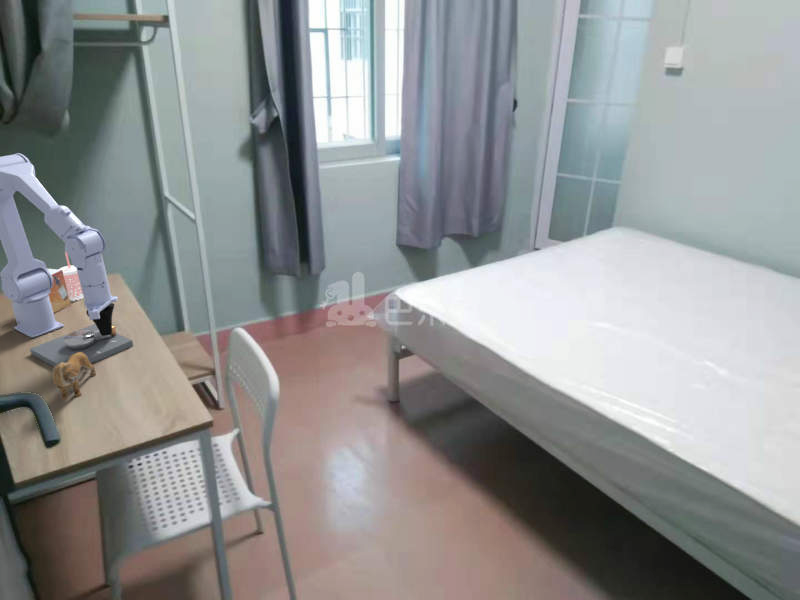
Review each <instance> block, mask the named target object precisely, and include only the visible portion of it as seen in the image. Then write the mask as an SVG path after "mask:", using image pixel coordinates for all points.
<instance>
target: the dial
mask: <svg viewBox="0 0 800 600" xmlns="http://www.w3.org/2000/svg"><path fill="white" fill-rule="evenodd" d="M78 330H79V331H78ZM78 330H75V331H73V332H70V333H68V335H67V334H66V335H67V336H65V335H64V336H65V338H64V340H65V344H66V347H67V348H68V349H71V350H79V349H84V348H87V347H90V346H92V345H93V344H95V343H96V340H100V339H104V338H107V337H111V336H115V335H116V334H118V333H117V329H116V326H115V325H114V324H112V334H111V335H105V336H102V335H101V333H100V331H99V329H98V330H95V331H92V330H80V329H78Z"/></svg>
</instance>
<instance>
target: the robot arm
mask: <svg viewBox="0 0 800 600" xmlns="http://www.w3.org/2000/svg"><path fill="white" fill-rule="evenodd" d="M16 192H19V193H20V194H21V195H22V196H24V197H25V199H27V200H28V201H29V202H30V203H31V204H33V205H34V206H35V207H36V208H37V209H38V210H39V211H41V213H42V214H44V218H43V220H44V222H45V224H46V225H47V226H48V227H49V228H50V229H51V230H52V231H53V232H54V233H55V234H56V235H57V236H58V238H59V239H60V240H61V241H62V242H63V243H64V245H65V246H64V252H66V253H67V255H68V258H70V260H71V264H72V265H74V267H76V269H77V273H78V277H79V281H80V285H81V289H82V293H83V296H84V299H83V300H84V301H83V304H84V307H85V308H86V311H85V312H86V315H87V316H88V317H89V318H88V319H89V320H90V321H92V322H93V324H96V326H97V328H98V329H99V331H100V333H101V335H102V336H105V335H111V334H112V325H113V311H114V308H115V304H114V303H116V302H118V299H119V297H118V296H114V295H112V294H111V288H110V285H109V280H108V275H107V271H106V266H105V262H104V258H103V254H102V253H103V252H104V251H105V250H106V240H105V238H104V236H103V234H102V233H101V232H100V231H99V230H98V229H96V228H93V227H91V226H89V225H85V224H84V223H83V222H82V221H81V220H80V219H79V218H78V217H77V216H76V215H75V214H74V212H73V211H72V210H71V209H70V208H69V207H68V206H67V205H59V204H58V203H57V202H56V201H55V199H54V198H53V197H52V195H51V194H50V193H49V192H48V191H47V189H46V188H45V187H44V186H43V184H42V183H41V182H40V180H38V178H37V177H36V170H35V166H34V165H33V164H32V163H31V161H30V160H29V158H28V157H26V155H24V154H22V153H20V152H17V153H14V154H10V155H4V156H0V241H1V245H2V249H3V252H4V253H5V257H6V259H7V264H6V265H5V266H4V267H3V268H2V270H1V271H0V279H1V290H2V292H3V295H4V296H5V297H6V298H7V299H8V300H10V301H11V306H12V307H11V308H12V310H13V314H14V317H15V320H16V325H15V326H14V327H13V329H14V330H16V331H18V332H20V333H22V334H23V335H25V336H28V337H29V338H36V337H39V336H42V335H44V334H47V333H50V332H52V331H55V330H58V329H60V328H63V327H64V324H63V323H61V322H59V321H57V320H56V317H55V313H53V310H52V306H51V302H50V299H49V295H48V294H49V293H51V291H50V289H51V288H52V287H53V278H52V275H51V274H50V272H49V271H48V269H49V268H47V265H46V263H45V262H44V261H42V260H39V259H37V258H34V256H33V253H32V249H31V248H30V244H29V240H28V238H27V236H26V234H27V233H26V232H25V229H24V225H23V223H22V220H21V217H20V214H19V211H18V208H17V205H16V202H15V199H14V194H15V193H16Z"/></svg>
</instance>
